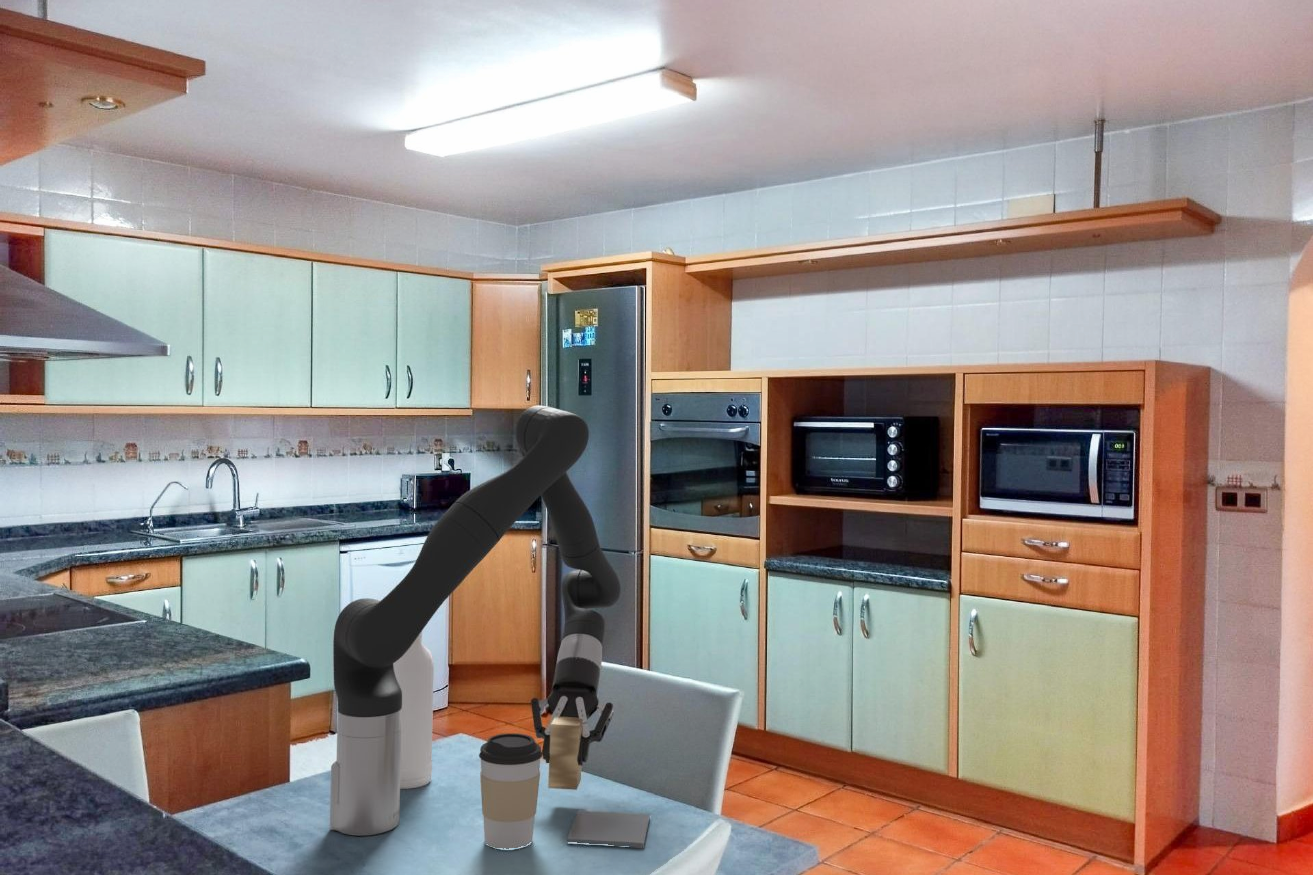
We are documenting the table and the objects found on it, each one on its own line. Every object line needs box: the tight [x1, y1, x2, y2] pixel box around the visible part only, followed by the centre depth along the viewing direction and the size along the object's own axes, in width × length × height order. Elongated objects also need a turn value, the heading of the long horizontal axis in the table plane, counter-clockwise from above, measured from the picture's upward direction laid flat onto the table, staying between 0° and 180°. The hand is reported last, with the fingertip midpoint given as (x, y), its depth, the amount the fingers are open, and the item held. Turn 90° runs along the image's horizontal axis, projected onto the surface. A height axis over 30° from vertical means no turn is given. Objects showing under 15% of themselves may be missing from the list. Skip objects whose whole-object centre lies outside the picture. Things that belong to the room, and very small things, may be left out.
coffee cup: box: [478, 732, 543, 849], centre depth 147 cm, size 9×9×15 cm
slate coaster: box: [566, 809, 650, 849], centre depth 151 cm, size 11×11×1 cm
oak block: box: [547, 717, 583, 791], centre depth 161 cm, size 4×4×10 cm
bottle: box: [393, 630, 435, 790], centre depth 170 cm, size 8×8×30 cm
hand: (564, 761), depth 159 cm, fingers closed on oak block, 4 cm apart
